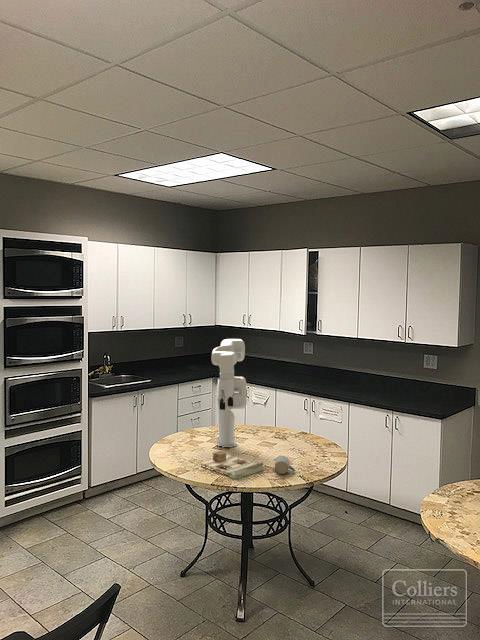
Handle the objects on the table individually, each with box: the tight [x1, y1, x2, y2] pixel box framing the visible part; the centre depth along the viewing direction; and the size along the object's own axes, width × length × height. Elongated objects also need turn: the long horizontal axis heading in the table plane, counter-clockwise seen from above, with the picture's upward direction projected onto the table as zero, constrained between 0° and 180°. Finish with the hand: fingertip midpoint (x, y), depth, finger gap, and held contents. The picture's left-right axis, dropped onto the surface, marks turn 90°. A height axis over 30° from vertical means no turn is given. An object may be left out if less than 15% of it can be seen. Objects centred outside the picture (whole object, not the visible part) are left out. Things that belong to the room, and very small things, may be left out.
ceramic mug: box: [274, 455, 296, 475], centre depth 272 cm, size 11×8×8 cm
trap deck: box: [200, 454, 264, 479], centre depth 278 cm, size 26×20×4 cm
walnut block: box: [212, 450, 227, 462], centre depth 285 cm, size 5×5×4 cm
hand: (226, 407), depth 287 cm, fingers open, 9 cm apart
